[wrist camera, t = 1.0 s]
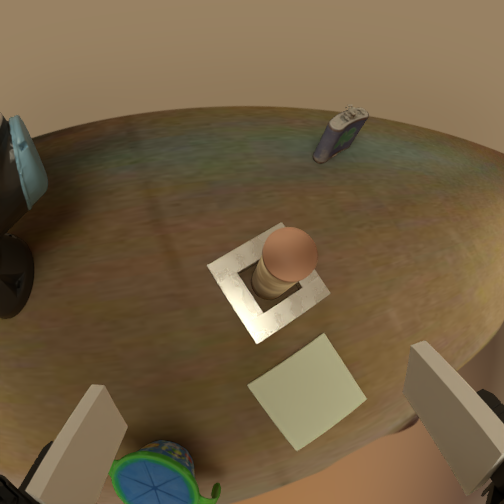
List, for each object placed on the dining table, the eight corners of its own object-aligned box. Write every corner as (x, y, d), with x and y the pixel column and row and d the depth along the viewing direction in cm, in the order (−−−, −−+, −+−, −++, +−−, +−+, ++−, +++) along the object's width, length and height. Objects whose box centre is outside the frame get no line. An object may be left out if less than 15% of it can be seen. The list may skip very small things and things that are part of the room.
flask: (319, 166, 47) (341, 124, 36) (307, 154, 48) (326, 110, 37) (352, 146, 50) (376, 107, 39) (341, 135, 50) (363, 95, 39)
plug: (242, 276, 40) (251, 244, 27) (273, 257, 41) (297, 217, 28) (263, 308, 39) (283, 292, 26) (294, 288, 40) (328, 262, 27)
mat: (246, 384, 35) (247, 385, 35) (322, 333, 39) (323, 332, 38) (295, 450, 33) (296, 451, 32) (365, 398, 36) (366, 399, 35)
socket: (207, 268, 40) (206, 265, 38) (279, 226, 43) (281, 222, 41) (255, 343, 37) (257, 344, 36) (327, 295, 40) (330, 293, 39)
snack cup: (110, 456, 29) (83, 481, 20) (134, 407, 33) (107, 426, 23) (202, 503, 29) (198, 539, 19) (232, 457, 32) (235, 490, 22)
